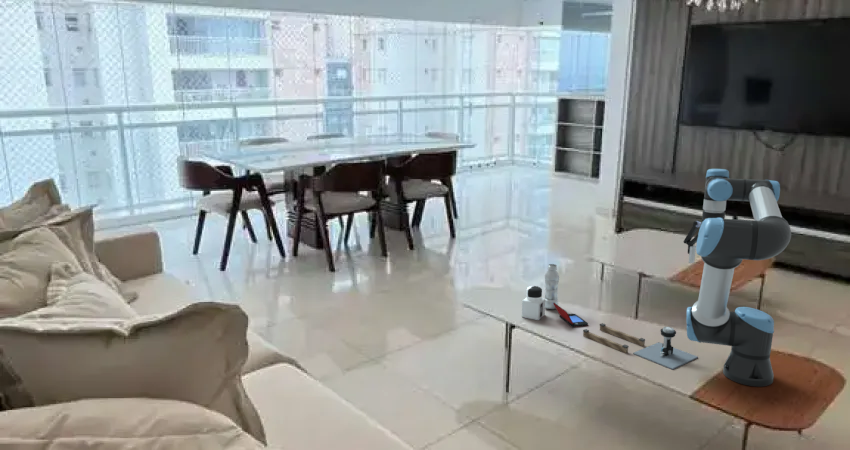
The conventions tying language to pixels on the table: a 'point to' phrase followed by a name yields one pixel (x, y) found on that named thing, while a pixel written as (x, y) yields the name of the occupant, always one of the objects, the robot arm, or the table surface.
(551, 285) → the plastic bottle
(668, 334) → the push button
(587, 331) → the rails
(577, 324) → the handheld game console
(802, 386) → the table surface
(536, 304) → the container
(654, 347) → the slate mat
